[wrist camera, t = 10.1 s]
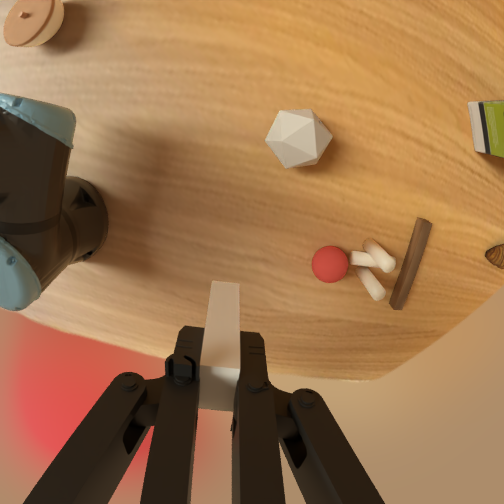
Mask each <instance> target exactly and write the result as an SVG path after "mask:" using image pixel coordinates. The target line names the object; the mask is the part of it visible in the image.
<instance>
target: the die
mask: <svg viewBox="0 0 504 504" xmlns="http://www.w3.org/2000/svg"><path fill="white" fill-rule="evenodd" d="M332 138H333V136H332V134H331V133H330V132H329V131H328V129H327V128H326V127H325V125H324V124H323V123H322V122H321V120H320V119H319V118H318V117H317V116H316V114H315V113H314V112H313V111H312V109H300V110H280V111H279V113H278V115H277V117H276V119H275V121H274V123H273V125H272V127H271V129H270V131H269V133H268V135H267V137H266V139H265V142H266V143H267V144H268V146H269V147H270V148H271V150H272V151H273V152H274V154H275V155H276V156H277V158H278V159H279V160H280V162H281V163H282V164H283V166H284V167H285V168H286V169H287V168H294V167H301V166H308V165H315V164H316V163H317V162H318V160H319V159H320V157H321V155H322V154H323V152H324V151H325V149H326V147H327V146H328V144H329V142H330V141H331V139H332Z"/></svg>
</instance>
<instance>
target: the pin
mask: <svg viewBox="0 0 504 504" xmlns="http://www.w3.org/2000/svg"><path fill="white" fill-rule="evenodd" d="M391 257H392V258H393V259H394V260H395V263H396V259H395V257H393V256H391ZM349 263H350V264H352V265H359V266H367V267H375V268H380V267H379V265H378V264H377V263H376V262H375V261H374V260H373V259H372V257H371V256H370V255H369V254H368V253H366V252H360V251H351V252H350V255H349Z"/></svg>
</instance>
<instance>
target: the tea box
mask: <svg viewBox="0 0 504 504" xmlns="http://www.w3.org/2000/svg"><path fill="white" fill-rule="evenodd" d="M468 109H469V115H470V121H471V127H472V134H473V141H474V148H475V151H477V152H481V153H485V154H490V155H493V156H498V157H502V158H504V100H502V101H477V102H468Z"/></svg>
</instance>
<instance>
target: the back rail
mask: <svg viewBox="0 0 504 504" xmlns="http://www.w3.org/2000/svg"><path fill="white" fill-rule="evenodd" d="M431 226H432V223H431V222H429V221H427V220H426V219H422V218H417V220H416V224H415V227H414V230H413V234H412V237H411V241H410V244H409V247H408V250H407V253H406V256H405V259H404V262H403V265H402V268H401V271H400V274H399V277H398V280H397V283H396V285H395V288H394V291H393V294H392V296H391V299H390V301H389V304H390V305H391V307H392V308H393V309H394V310H402V309H403V306H404V304H405V301H406V299H407V296H408V294H409V291H410V289H411V286H412V283H413V281H414V278H415V275H416V272H417V270H418V267H419V264H420V261H421V258H422V255H423V252H424V249H425V246H426V243H427V240H428V236H429V233H430V230H431Z"/></svg>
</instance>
